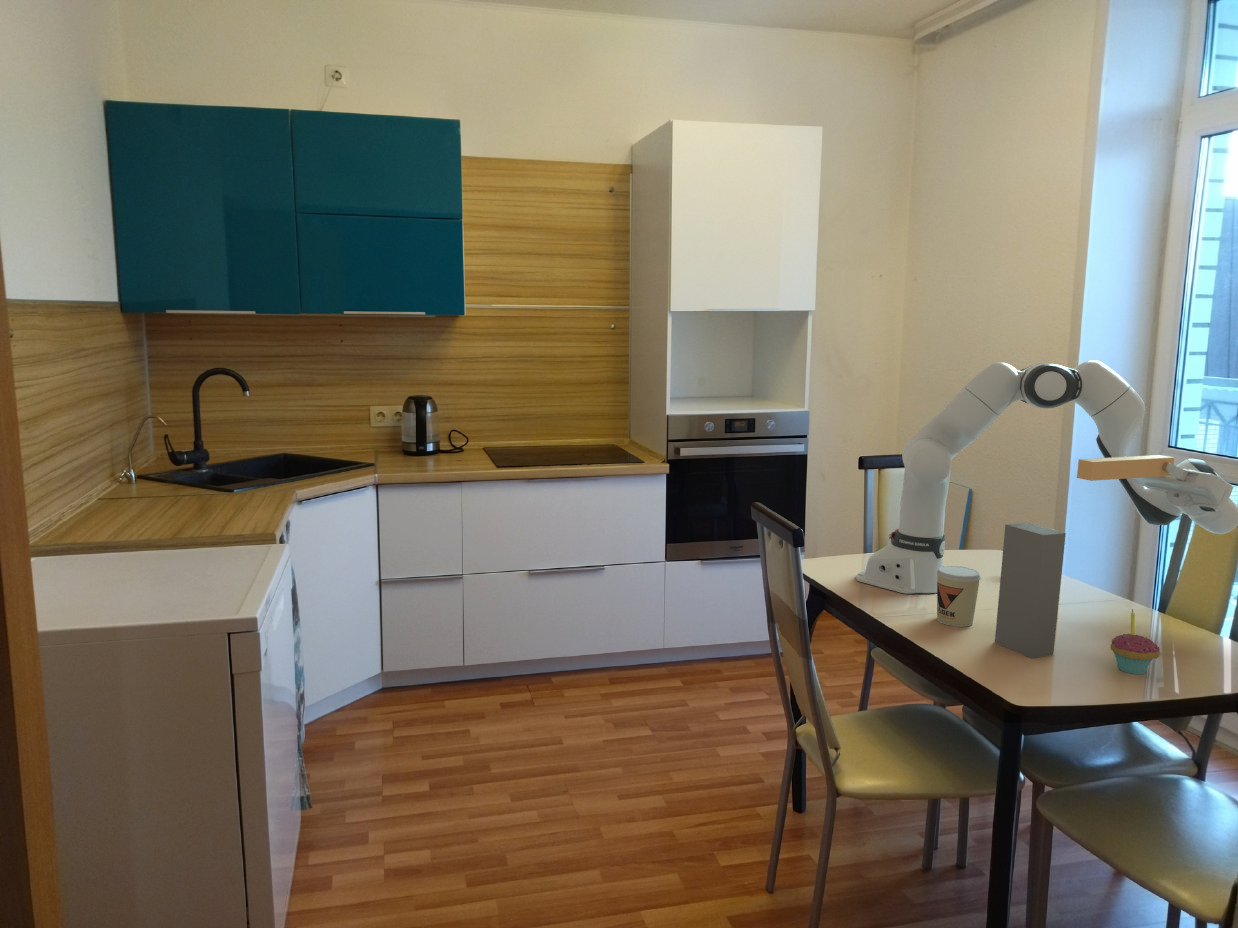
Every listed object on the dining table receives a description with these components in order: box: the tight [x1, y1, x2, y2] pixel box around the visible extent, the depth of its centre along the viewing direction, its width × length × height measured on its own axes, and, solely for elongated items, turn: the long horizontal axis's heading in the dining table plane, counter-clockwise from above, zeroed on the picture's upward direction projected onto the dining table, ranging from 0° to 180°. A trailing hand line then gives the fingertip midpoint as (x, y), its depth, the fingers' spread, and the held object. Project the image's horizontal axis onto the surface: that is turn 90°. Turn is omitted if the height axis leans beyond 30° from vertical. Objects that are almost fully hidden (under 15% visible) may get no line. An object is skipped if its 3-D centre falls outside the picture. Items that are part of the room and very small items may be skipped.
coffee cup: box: [936, 565, 982, 628], centre depth 204 cm, size 9×9×12 cm
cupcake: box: [1110, 608, 1161, 675], centre depth 176 cm, size 9×8×12 cm
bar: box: [1076, 454, 1176, 482], centre depth 190 cm, size 24×4×4 cm, turn 111°
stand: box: [994, 522, 1067, 659], centre depth 186 cm, size 6×10×26 cm, turn 21°
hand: (1155, 463), depth 194 cm, fingers closed on bar, 4 cm apart
